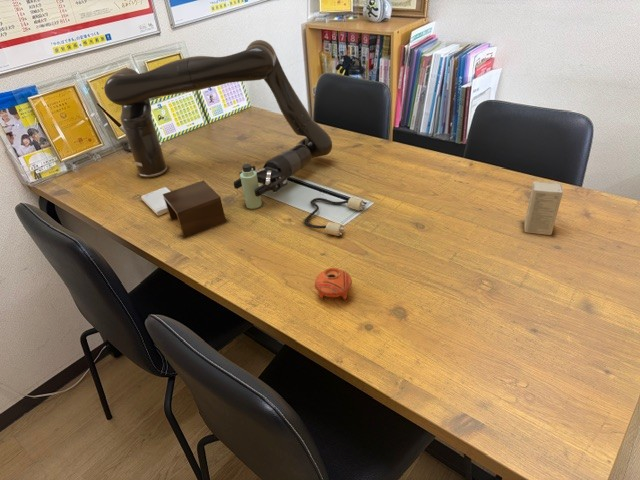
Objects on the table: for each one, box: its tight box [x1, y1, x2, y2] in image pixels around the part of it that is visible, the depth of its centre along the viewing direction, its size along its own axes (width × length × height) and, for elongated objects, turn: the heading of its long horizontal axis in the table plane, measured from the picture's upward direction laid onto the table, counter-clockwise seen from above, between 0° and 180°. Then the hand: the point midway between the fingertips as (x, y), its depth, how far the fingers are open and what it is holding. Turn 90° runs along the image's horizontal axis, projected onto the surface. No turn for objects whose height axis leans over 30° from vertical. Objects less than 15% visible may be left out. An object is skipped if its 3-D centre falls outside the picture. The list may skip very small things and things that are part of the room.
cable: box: [304, 196, 366, 237], centre depth 120 cm, size 16×16×4 cm
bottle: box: [239, 163, 263, 210], centre depth 126 cm, size 5×5×13 cm
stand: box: [163, 180, 227, 238], centre depth 123 cm, size 12×12×8 cm
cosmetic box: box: [523, 181, 564, 236], centre depth 107 cm, size 6×4×12 cm
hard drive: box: [140, 186, 172, 217], centre depth 134 cm, size 2×8×12 cm
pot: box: [314, 267, 353, 301], centre depth 95 cm, size 8×8×7 cm
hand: (245, 189), depth 125 cm, fingers open, 8 cm apart
